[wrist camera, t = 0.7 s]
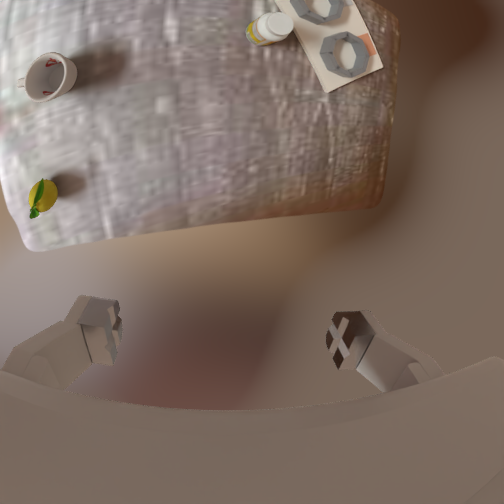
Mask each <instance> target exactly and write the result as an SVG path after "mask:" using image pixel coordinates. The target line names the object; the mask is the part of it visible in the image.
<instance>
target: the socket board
mask: <svg viewBox="0 0 504 504" xmlns="http://www.w3.org/2000/svg"><path fill="white" fill-rule="evenodd" d="M274 1H275V2H276V4H277V5H278V7H279V8H280V10H281V12H282V13H285V14H287V15H288V16H290V17H291V19H292V20H293V24H294V26H293V31H294V33H295V35H296V37H297V38H298V40H299V42H300V44H301V46H302V47H303V49H304V51H305V53H306V55H307V57H308V59H309V61H310V63H311V64H312V66H313V68H314V70H315V72H316V74H317V76H318V79H319V81H320V83H321V85H322V87H323V89H324V91H325V92H330V91H332V90H334V89H336V88H338V87H340V86H342V85H344V84H346V83H349V82H351V81H353V80H355V79H357V78H360V77H362V76H364V75H366V74H369V73H371V72H373V71H376V70H378V69H380V68H383V65H382V62H381V60H380V57H379V55H378V52H377V50H376V47H375V45H374V43H373V40H372V38H371V36H370V34H369V31H368V29H367V27H366V25H365V23H364V21H363V19H362V17H361V15H360V13H359V11H358V9H357V7H356V5H355V3H354V1H353V0H274Z"/></svg>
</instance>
